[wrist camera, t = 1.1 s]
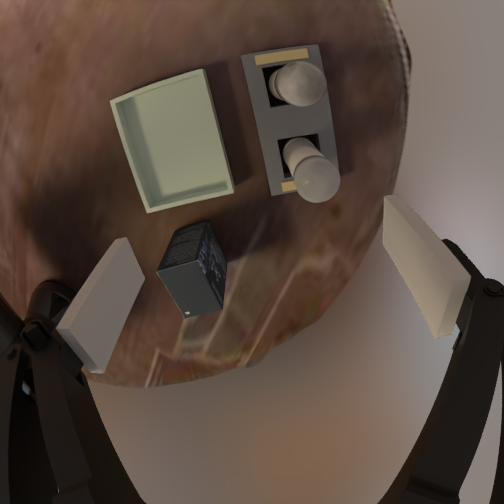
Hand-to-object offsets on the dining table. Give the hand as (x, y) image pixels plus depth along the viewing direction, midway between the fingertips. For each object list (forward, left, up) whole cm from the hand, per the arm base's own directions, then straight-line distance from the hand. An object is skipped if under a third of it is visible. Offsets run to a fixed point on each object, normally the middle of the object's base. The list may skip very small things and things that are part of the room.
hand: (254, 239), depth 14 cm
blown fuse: (+5, +6, -25) cm, 26 cm away
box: (-11, -14, -25) cm, 30 cm away
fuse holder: (+5, +2, -25) cm, 26 cm away
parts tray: (-9, +2, -25) cm, 27 cm away
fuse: (+5, -3, -25) cm, 26 cm away
